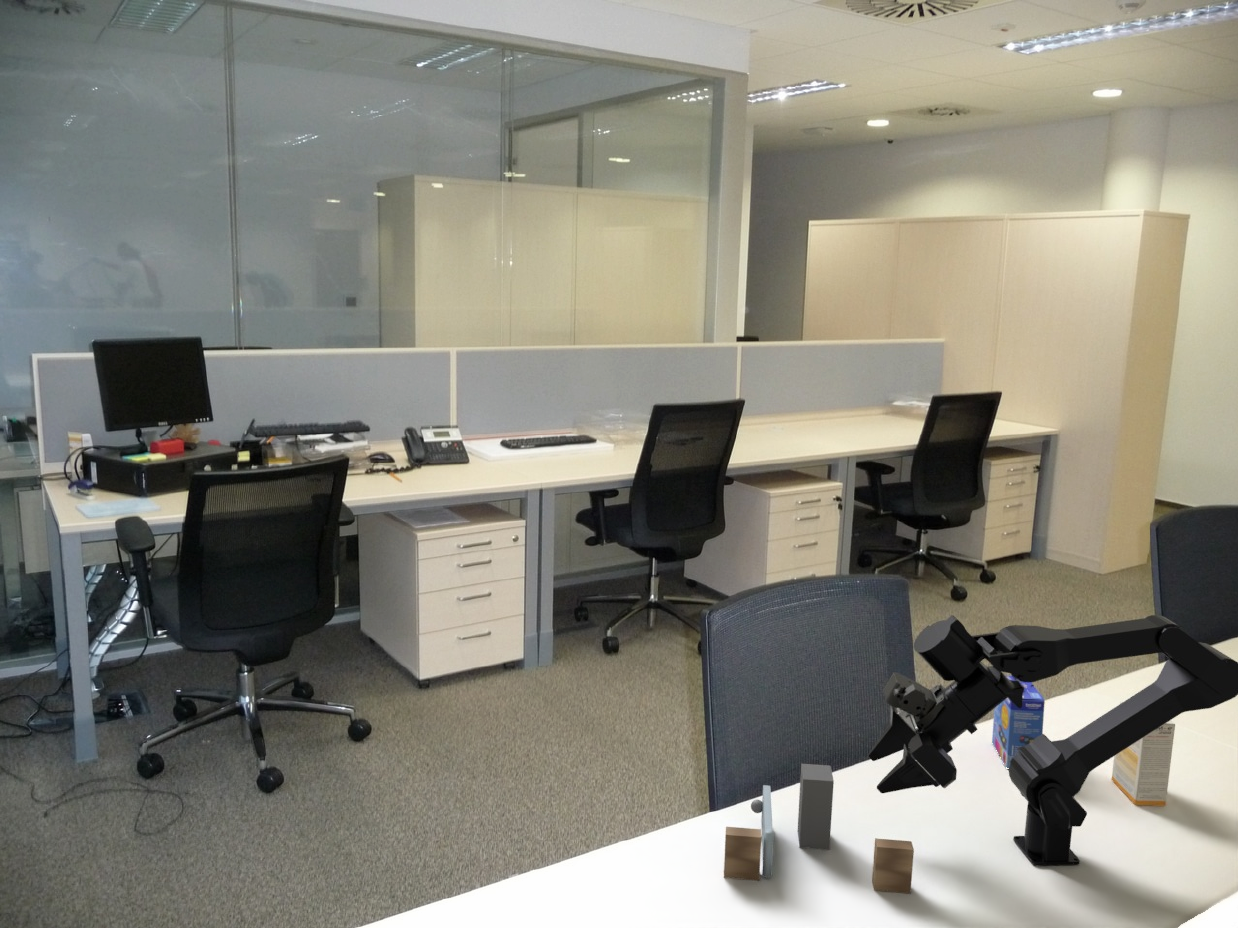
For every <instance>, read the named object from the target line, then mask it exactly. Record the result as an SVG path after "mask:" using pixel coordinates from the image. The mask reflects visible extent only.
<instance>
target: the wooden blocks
mask: <svg viewBox="0 0 1238 928" xmlns="http://www.w3.org/2000/svg"><path fill="white" fill-rule="evenodd" d="M761 849H762V828H750V827H748V828H747V827H736V826H726V827H725V841H724V862H723V878H725V879H735V880H746V881H747V880H748V881H758V882H759V881H760V869H761V868H760V867H761V855H762V854H761V851H762V850H761ZM873 850H874V852H873V863H872V874H871V875H872V876H871V883H872V886H873V887H872V888H873V891H875V892H876V891H877V892H887V893H889V892H890V893H899V894H901V893H902V894H911V893H912V891H911V890H912V878H913V876H912V875H913V865H914V864H913V863H914V852H915V849H914V846H913V841H910V840H901V839H900V840H899V839H887V838H878V837H877V838H874V849H873Z"/></svg>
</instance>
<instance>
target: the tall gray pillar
mask: <svg viewBox="0 0 1238 928" xmlns="http://www.w3.org/2000/svg"><path fill="white" fill-rule="evenodd" d="M799 783H800V784H799V799H798V816H797V838H798V845H799V848H800V849H801V848H802V849H814V850H825V851H826V850H827V851H829V850H830V847H831V830H832V814H833V812H832V811H833V801H834V800H833V797H834V795H833V794H834V777H833V771H832V766H831V765H825V764H810V763H800V778H799Z"/></svg>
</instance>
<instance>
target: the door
mask: <svg viewBox="0 0 1238 928" xmlns="http://www.w3.org/2000/svg"><path fill="white" fill-rule="evenodd" d="M771 791H772V790H771V785H765V784H763V785H762V799H761V800H760V799H754V800H752V801H751V804H750V809H751V810H752V812H754V813H756V814H760V813H761V819H760V821H761V849H762V850H761V851H762V873H761V874H762V876H763V877H765V878H771V877H772V876H773V875H772V874H773V857H774V855H773V854H774V838H775V836H774V835H775V832H774V827H773V810H772V809H773V808H772V795H771V794H772V793H771Z"/></svg>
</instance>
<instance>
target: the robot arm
mask: <svg viewBox="0 0 1238 928" xmlns="http://www.w3.org/2000/svg"><path fill="white" fill-rule="evenodd" d="M913 650H914V651H915V652H916V654H918V655H919V656H920V657H921V658H922V660H924V661H925V662H926V663H927V665H929V666H930V667H931V669H932V670H934V671H935V673H936V674H937V675H938V676H939V677H940V678H941V679H942V680H944V681H946V682H951V683H950V684H948V685H947V686H946V687H945V686H943V685H942V684H936V685H935V686H933V687H932V688H931V689H929V688H927V687H925V686H923V685H922V684H921V683H919V682H917V681H915V680H913V679H911V678H909V677H907V676H906V675H903V674H901V673H899V672H896V671H894V672H892V674H891V676H890V678H889V680H888V681H887V683H886V685H885V687H884V688H883V690H882V694H884V697H885V699H884V700H885V702H886V703H887V704H888V705H889V707H890V714H889V715H890V716H889V717H890V720H889V723H888V724H887V726H886V727H885V729H884V731H883V732H882V734H881V735H880V737H879V738H878V740H877V741H876V742H875V744H874V745H873V746H872V747H871V748H872V749H871V750H870V751H869V752H868V758H869V759H870V760H871V761H872V762H875V761H878V760H881V759H884V758H886V757H889V756H891V755H893V754H896V753H898V752H900V751H902V750H903V752H902V759H901V760H900V761H898V763H897V764H896V765H895V766H894V767H893V768H892V769H891V770H890V771H889V772H888V773H886V775H885V776H884V777H883V778H882V779H881V781H879V783H878V784H877V785H876V789H877V790H878V792H880V794H888V793H892V792H898V791H902V790H903V791H904V790H909V789H914V788H921V787H928V786H934V787H935V788H937V787H938V788H939V786H940V787H941V788H943V789H946V788H947V787H948V786H950V785H951V784H953V782H955V781H956V780H957V774H958V770H957V768H956V767H957V766H956V765H955V763H954V760H953V758H952V757H951V755H949V753H950V752H951V751H953V750H954V749H953V746H952V742H954V741H956V739H957V738H958V737H960V736H961V735H963V734H964V733H965V732H966V731H968V733H970V734H971V735H973V733H975V732H977V731H978V728H977V726H976V724H977V723H978V722H979V721H981V719H983V718H984V717H985V716H986V715H988V714H989V713H990V712H992V711H994V708H995V707H997V706H998V705H999V704H1000V703H1002V702H1003V701H1004V700H1005V699H1007V698H1009V699H1010V700H1011V701H1012V702H1013V703H1014V704H1015V705H1016V706H1017V707H1018V708H1022V707H1023V691H1024V687H1023V686H1022V684H1021V683H1020V682H1019V681H1013V680H1009V679H1008V678H1007V677H1006V676H1007V675H1005V673H1007V674H1010V676H1014V677H1015V678H1016V679H1018V680H1020V681H1022V682H1032V683H1036V682H1039V681H1043V680H1046V679H1049V678H1052V677H1055V676H1058V675H1059V674H1060V673H1062V672H1063V671H1065V670H1066V669H1067V668H1070V667H1073V666H1076V665H1080V664H1081V665H1082V664H1089V663H1096V662H1102V661H1109V660H1110V661H1111V660H1118V659H1124V658H1125V659H1126V658H1131V657H1132V658H1133V657H1139V656H1144V655H1145V656H1146V655H1152V654H1153V655H1154V654H1159V653H1162V654H1163V655H1164V656H1165V657H1167V658H1168V660H1167V661H1166V662H1165V663H1164V665H1163V667H1162V669H1161V671H1160V673H1159V674H1158V677H1157V679H1156V680H1155V681H1154V682H1152V683H1151V684H1149V685H1147V686H1146V687H1145V688H1143V689H1142V690H1140V691H1138V692H1137V693H1135V694H1134V695H1132V696H1130V697H1129V698H1127V699H1126V700H1125V701H1122V702H1123V703H1121V704H1120V703H1119V704H1118V705H1117V706H1115V707H1113V708H1112V709H1110V710H1109V711H1106V713H1104V714H1102V715H1101V716H1099V717H1098V718H1096V719H1095V720H1093V721H1092V722H1090V723H1088V724H1086V725H1085V726H1084V727H1082V728H1080V729H1079V730H1078V731H1076V732H1075V733H1073V734H1071V735H1070V736H1068V737H1067V738H1064V739H1059V740H1051V739H1049V737H1048V736H1047V735H1046V734H1045V733H1043V734H1042V735H1040V736H1037V737H1036V738H1035V739H1034V740H1033V741H1032V742H1031V743H1029V744H1027V745H1025V746H1023V747H1018V748H1017V750H1018V751H1019V753H1017V754H1016V755H1015V756H1014V757H1013V758H1012V759H1011V761H1010V767H1009V770H1008V776H1009V779H1010V781H1011V783H1012V784H1013V785H1014V786H1015V787H1016V789H1017V790H1018V791H1019V792H1020V794H1021V796H1022V797H1023V798H1025V800H1026V801H1027V807H1026V818H1025V828H1024V835H1014V836H1013V838H1012V839H1013V842H1014V843H1015V844H1016V845H1017V847H1018V848H1019V850H1021V852H1022V853H1023V854H1024V855H1025V857H1026V858H1027V859H1028V860H1029V862H1030V863H1031V864H1032V865H1034V866H1059V865H1060V866H1061V865H1067V866H1068V865H1070V866H1072V865H1080V862H1081V860H1080V858H1079V857H1078V856H1077V855H1076V854H1075V853H1074V851H1073V850H1071V844H1072V843H1071V841H1072V833H1073V827H1075V828H1077V827H1079V828H1080V827H1082V825H1083V823H1084V821H1085V819H1086V817H1087V816H1088V815H1087V814H1088V812H1087V811H1086V809H1085V808H1084V807H1083V806H1082V804H1080V803H1079V802H1078V801H1077V799H1075V796H1076V795H1077V794H1078V793H1080V791H1081V789H1082V788H1083V785H1084V783H1085V781H1086V780H1087V778H1088V776H1089V774H1090V773H1091V772H1092V771H1093V770H1094V769H1096V768H1098V767H1100V766H1101V765H1102V764H1104V763H1105V762H1108V760H1110V759H1112V758H1114V756H1115V755H1117V754H1118V753H1120V752H1121V751H1123V750H1124V749H1126V748H1128V747H1129V746H1131V745H1132V744H1134V743H1135V742H1137V741H1139V740H1140V739H1142V738H1143V737H1145V736H1146V735H1148V734H1150V733H1151V732H1153V731H1154V730H1156V729H1157V728H1159V727H1161V726H1162V725H1164V724H1165V723H1167V722H1168V721H1170V720H1171V721H1172V720H1174V719H1175V718H1177V716H1179V715H1181V714H1184V713H1186V712H1193V711H1200V710H1207V709H1212V708H1214V707H1217V706H1219V705H1221V704H1224V703H1225V702H1229V701H1230V700H1232V699H1235V698H1236V697H1237V696H1238V661H1236V660H1235V659H1233V658H1232V657H1230V656H1228V655H1226V654H1225V653H1223V652H1221V651H1220V650H1218V649H1217V648H1215V647H1213V646H1212V645H1210V644H1208V643H1207V642H1200V641H1197V640H1195V639H1194V638H1193V637H1191V636H1190V635H1189V634H1188V633H1186V632H1185V631H1184V630H1183V628H1182V627H1180V626H1179V625H1178V624H1176V623H1175V622H1174V621H1172V620H1170V619H1168V618H1167V617H1165V616H1163V615H1161V614H1160V615H1159V614H1154V615H1153V614H1151V615H1148V616H1146V617H1143V618H1137V619H1129V620H1124V621H1115V622H1108V623H1102V624H1101V623H1099V624H1095V625H1087V626H1078V627H1072V628H1071V627H1070V628H1065V629H1064V628H1063V629H1060V628H1059V629H1058V628H1050V627H1044V626H1039V625H1026V624H1025V625H1019V624H1015V625H1014V624H1013V625H1008V626H1005V627H1003V628H1001V629H1000V630H999V631H998V632H990V633H983V634H975V635H971V634H970V633H969V632H968V631H967V629H966V627H965V625H964V624H963V623H962V622H961V621H960V620H959V619H958V618H957V617H956V616H955V615H954V614H953V615H950V616H949V617H948V618H946V620H945V619H944V620H939V621H936V622H934V623H932V624H931V625H926V626H925V627H924V628H923V629H922V630H921V631H920V632H919V634H918V635H917V636H916V638H915V640H914V642H913ZM983 660H986V661H987V662H988V663H989V664H991V665H990V666H989V665H988V666H987V665H986V664H985V663H984V662H983Z"/></svg>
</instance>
